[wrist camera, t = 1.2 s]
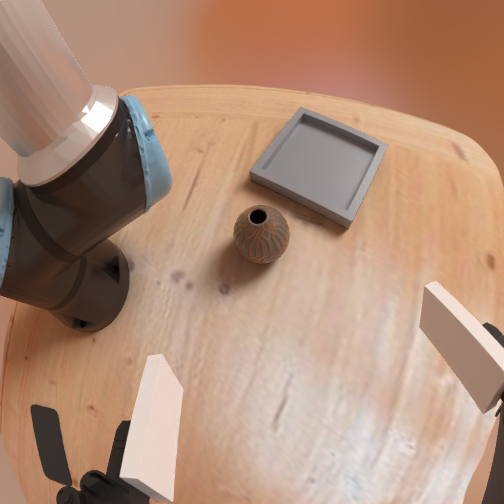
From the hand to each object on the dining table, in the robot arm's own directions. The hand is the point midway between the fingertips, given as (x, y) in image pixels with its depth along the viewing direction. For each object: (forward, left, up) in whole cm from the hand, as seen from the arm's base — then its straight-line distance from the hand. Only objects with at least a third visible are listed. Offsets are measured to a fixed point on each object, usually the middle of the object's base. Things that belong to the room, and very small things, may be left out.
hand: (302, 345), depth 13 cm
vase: (-10, +10, -24) cm, 28 cm away
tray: (-9, +26, -23) cm, 36 cm away
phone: (-22, -39, -24) cm, 51 cm away
